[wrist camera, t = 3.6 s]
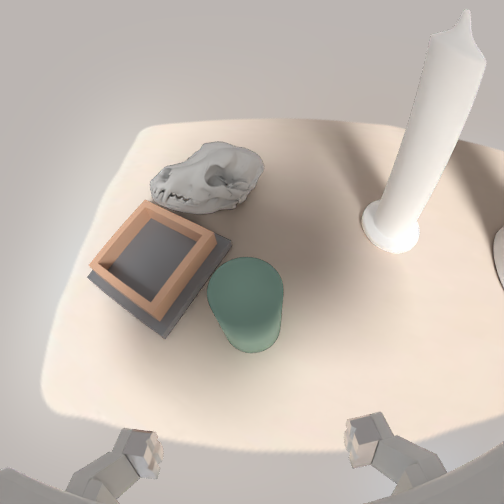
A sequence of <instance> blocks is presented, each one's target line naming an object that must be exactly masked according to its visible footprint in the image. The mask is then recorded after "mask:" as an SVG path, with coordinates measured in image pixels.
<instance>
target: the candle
mask: <svg viewBox="0 0 504 504" xmlns="http://www.w3.org/2000/svg"><path fill="white" fill-rule="evenodd" d="M486 63H487V62H486V59H485V57H484V56H483V54H482V53H481V51H480V50H479V48H478V46H477V45H476V43H475V41H474V39H473V35H472V31H471V13H470V11H469V10H468V9H464V10H463V12H462V14H461V16H460V18H459V20H458V22H457V24H456V25H455V26H454V27H453V28H452V29H450V30H446V31H442V32H439V33H434V34H432V35H431V36H430V40H429V45H428V50H427V54H426V58H425V62H424V67H423V71H422V75H421V79H420V82H419V86H418V90H417V94H416V97H415V101H414V104H413V108H412V111H411V114H410V118H409V121H408V124H407V127H406V130H405V134H404V137H403V140H402V143H401V146H400V149H399V152H398V154H397V157H396V160H395V163H394V166H393V169H392V171H391V174H390V177H389V179H388V182H387V185H386V187H385V190H384V193H383V195H382V198H381V200H377V201H374V202H372V203H370V204H369V205H368V206H367V207H366V208H365V210H364V212H363V215H362V227H363V230H364V232H365V234H366V236H367V237H368V239H369V240H370V241H371V242H372V243H373V244H374V245H376V246H377V247H378V248H380V249H382V250H384V251H387V252H391V253H404V252H407V251H409V250H410V249H412V248H413V247H414V246H415V244H416V243H417V241H418V238H419V225H418V222H417V219H418V217H419V216H420V214H421V212H422V210H423V209H424V207H425V205H426V203H427V201H428V200H429V198H430V196H431V194H432V192H433V190H434V188H435V186H436V185H437V183H438V181H439V179H440V177H441V175H442V173H443V171H444V169H445V167H446V165H447V163H448V161H449V158H450V156H451V154H452V152H453V150H454V148H455V146H456V143H457V141H458V139H459V137H460V134H461V132H462V129H463V127H464V125H465V122H466V120H467V118H468V115H469V113H470V110H471V108H472V105H473V102H474V100H475V97H476V94H477V91H478V89H479V86H480V83H481V80H482V77H483V74H484V71H485V68H486Z"/></svg>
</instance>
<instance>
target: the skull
mask: <svg viewBox="0 0 504 504" xmlns="http://www.w3.org/2000/svg"><path fill="white" fill-rule="evenodd" d="M263 171H264V164H263V161H262V159H261V157H260V156H259V155H258V154H256V153H255V152H253V151H251V150H249V149H246V148H243V147H237V146H233V145H231V144H228V143H225V142H211V143H205V144H203V145H202V147H201V148H200V150H199V151H197V152H195V153H194V154H193V155H192V156H191V157H189V158H188V159H187V161H185V162H182V163H178V164H174V165H169V166H166V167H164V168H163V169H162V170H161V171H160V172H159V173H158V174H157V175H156V176H155V177H154V178H153V179H152V180H151V181H150V186H151V187H150V190H151V194H152V198H153V200H154V201H155V202H156V203H157V204H159V205H161V206H163V207H166V208H168V209H171V210H175V211H180V212H185V213H191V214H209V213H214V212H216V211H218V210H222V209H230V210H231V209H234V208H236V206H237V205H235V204H237V203H242V202H244V200H246V198H247V195H248V194H249V193H250V191H251V190H252V189H254V188H255V186H256V183H257V180H258V178H259V176H260V175H261V174H262V172H263ZM226 185H227V186H226ZM190 198H191V199H190ZM183 199H185V200H186V199H189V200H187V201H184V200H183Z"/></svg>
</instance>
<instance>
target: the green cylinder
mask: <svg viewBox="0 0 504 504" xmlns="http://www.w3.org/2000/svg"><path fill="white" fill-rule="evenodd" d="M207 298H208V302H209V305H210V307H211V309H212V311H213V313H214V315H215V317H216V319H217V321H218V322H219V324H220V326H221V328H222V330H223V332H224V333H225V335H226V337H227V339H228V340H229V342H230V343H231V344H232V345H233V346H234V347H235V348H236V349H238V350H240V351H243V352H246V353H257V352H261V351H264V350H266V349H268V348H269V347H270V346H272V345H273V344H274V342H275V341H276V340H277V338H278V335H279V332H280V325H281V314H282V303H283V283H282V280H281V277H280V275H279V274H278V272H277V271H276V270H275V269H274V268H273V267H272V266H271V265H270V264H269V263H267V262H265V261H263V260H261V259H257V258H253V257H240V258H236V259H232V260H230V261H228V262H226V263H224V264H223V265H221V266H220V267H219V268H218V269H217V270H216V271H215V272H214V274H213V275H212V277H211V279H210V281H209V284H208V288H207Z"/></svg>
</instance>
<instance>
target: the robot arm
mask: <svg viewBox="0 0 504 504" xmlns="http://www.w3.org/2000/svg"><path fill="white" fill-rule="evenodd" d="M493 249H494V260H495V265H496V269H497V272H498V275H499V278H500V280H501V283H502V285H503V287H504V227H502V228H501V229H499V231H498V232H497V234H496V236H495V239H494V247H493ZM346 427H347V430H346V431H345V433H344V443H345V447H346V450H347V451H348V452H350V455H349V459H350V462H351V465H352V468H353V469H354V468H358V467H363V466H367V465H371V464H372V466H373V467H374V468H376V469H377V470H378V471H380V472H381V473H383V474H384V475H385V476H387V477H388V478H389V479H391V480H392V481H393V482H395V483H396V484H397V486H396V488H395V489H394V491H393V493H392V494H391V496H389V497H385V498H382V499H379V500H375V501H372V502H368V503H364V504H504V442H502V443H500V444H499V445H497V446H496V447H494V448H492V449H491V450H489V451H487V452H486V453H484V454H482V455H481V456H479V457H477V458H475V459H474V460H472V461H470V462H468V463H466V464H464V465H462V466H461V467H459V468H457V469H455V470H453V471H450V472H449V473H447V471H446V470H445V468H444V466H443V464H442V463H441V461H440V459H439V458H438V456H437V454H435V453H433V452H430V451H428V450H426V449H424V448H422V447H420V446H418V445H416V444H414V443H412V442H410V441H408V440H406V439H404V438H402V437H400V436H398V435H396V436H394V435H393V433H392V431H391V429H390V427H389V425H388V423H387V421H386V419H385V418H384V416H383V414H382V413H381V412H377V413H373V414H368V415H364V416H360V417H356V418H351V419H347V421H346ZM157 439H158V436H157V434H156V432H153V431H144V430H136V429H128V428H123V429H122V430H121V432H120V435H119V437H118V439H117V441H116V443H115V446H114V448H113V450H112V452H108V453H106V454H105V455H103V456H101V457H100V458H98V459H97V460H95V461H94V462H92V463H90V464H89V465H87V466H85V467H84V468H82V469H80V470H79V471H77V472H75V473H74V474H73V476H72V478H71V480H70V482H69V484H68V486H67V489H66V491H63V490H61V489H58V488H55V487H53V486H50V485H48V484H46V483H43V482H41V481H38V480H36V479H34V478H32V477H30V476H27V475H25V474H24V473H21V472H20V471H18V470H16V469H13V468H10V467H7V468H3V469H0V504H120V503H119V502H118V501H117V500H116V499H117V498H119V497H120V496H121V495H122V494H123V493H124V492H125V491H127V490H128V489H129V488H130V487H131V486H132V485H133V484H134V483H135V482H136V481H138V479H140V477H141V478H150V479H157V478H158V475H159V471H160V467H159V465H158V464H159V463H160V462H162V460H163V447H162V444H161V443H160V442H159V441H158V440H157Z"/></svg>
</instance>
